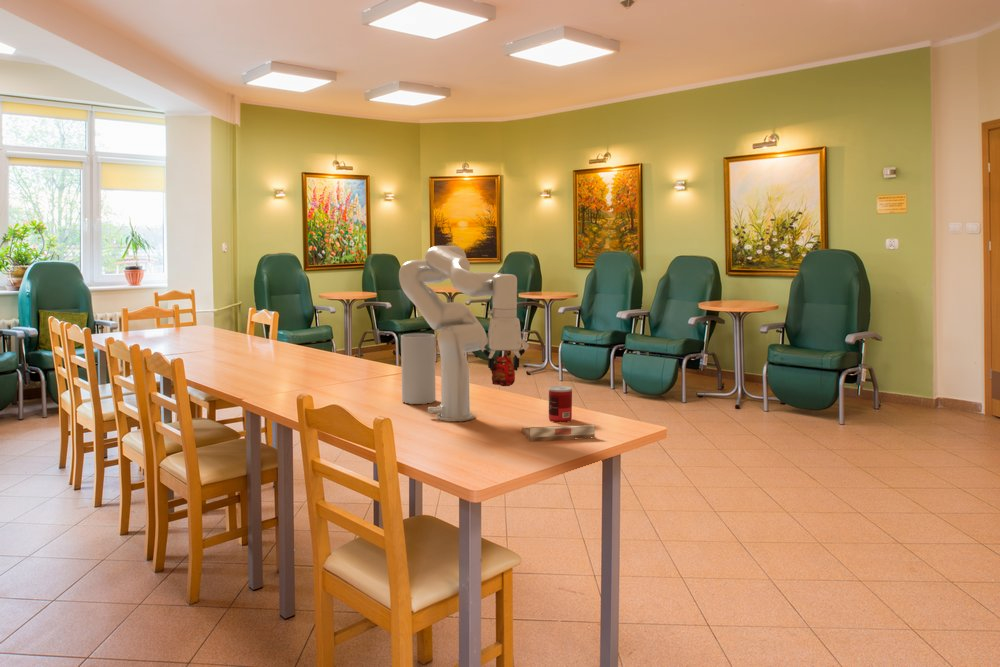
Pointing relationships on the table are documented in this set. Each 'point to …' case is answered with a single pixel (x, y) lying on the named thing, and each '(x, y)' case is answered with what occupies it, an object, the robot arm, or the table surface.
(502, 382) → the red clay folk toy
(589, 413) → the table surface
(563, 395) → the canned food
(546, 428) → the shelf board
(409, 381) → the cylinder vase
